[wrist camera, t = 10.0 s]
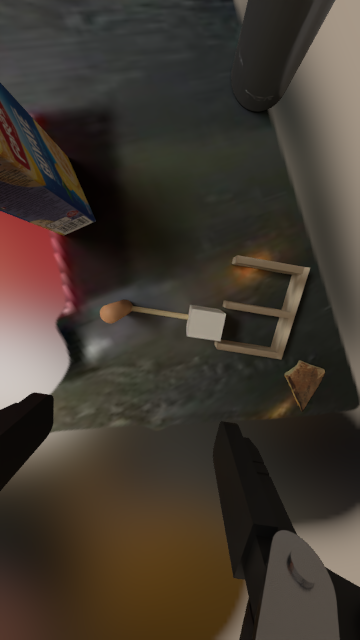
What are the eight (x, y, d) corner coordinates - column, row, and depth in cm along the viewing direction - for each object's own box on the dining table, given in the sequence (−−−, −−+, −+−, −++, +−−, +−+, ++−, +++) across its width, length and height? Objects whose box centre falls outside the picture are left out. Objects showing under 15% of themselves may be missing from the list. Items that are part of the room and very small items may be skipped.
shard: (298, 407, 41) (303, 413, 39) (268, 397, 40) (272, 402, 38) (322, 367, 38) (328, 371, 37) (291, 356, 38) (296, 359, 36)
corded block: (118, 293, 35) (100, 297, 27) (219, 309, 35) (230, 316, 28) (117, 317, 36) (99, 327, 28) (214, 332, 36) (223, 346, 29)
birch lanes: (233, 257, 33) (238, 255, 30) (298, 269, 34) (310, 267, 31) (214, 343, 37) (216, 349, 34) (273, 353, 37) (281, 359, 34)
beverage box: (67, 156, 30) (-224, -164, 8) (96, 221, 32) (-77, 99, 11) (33, 172, 30) (-322, -88, 9) (63, 236, 33) (-163, 148, 11)
